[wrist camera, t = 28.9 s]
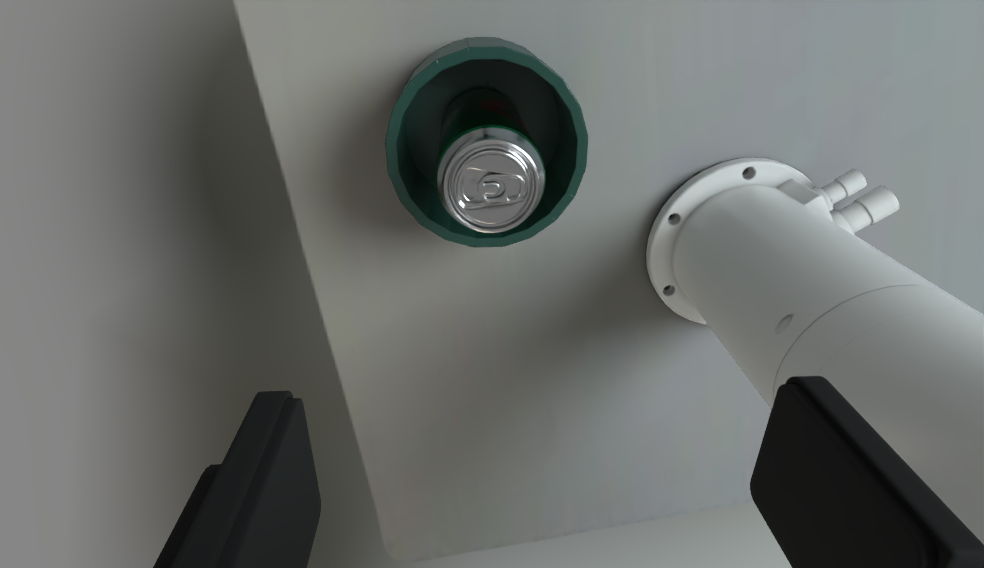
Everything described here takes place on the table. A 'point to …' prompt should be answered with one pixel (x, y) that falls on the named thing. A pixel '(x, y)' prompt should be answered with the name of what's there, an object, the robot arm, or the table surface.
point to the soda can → (487, 163)
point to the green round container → (539, 105)
